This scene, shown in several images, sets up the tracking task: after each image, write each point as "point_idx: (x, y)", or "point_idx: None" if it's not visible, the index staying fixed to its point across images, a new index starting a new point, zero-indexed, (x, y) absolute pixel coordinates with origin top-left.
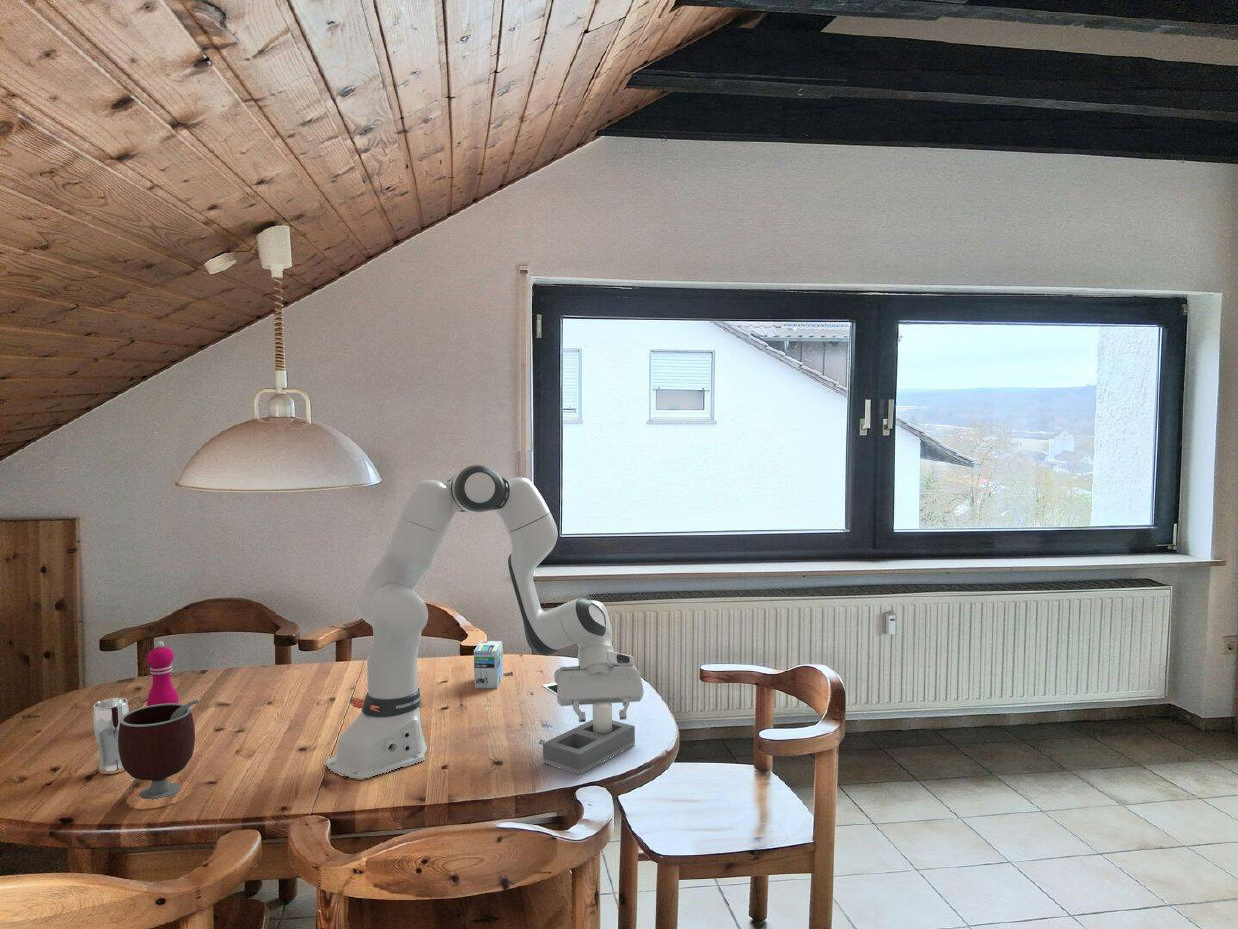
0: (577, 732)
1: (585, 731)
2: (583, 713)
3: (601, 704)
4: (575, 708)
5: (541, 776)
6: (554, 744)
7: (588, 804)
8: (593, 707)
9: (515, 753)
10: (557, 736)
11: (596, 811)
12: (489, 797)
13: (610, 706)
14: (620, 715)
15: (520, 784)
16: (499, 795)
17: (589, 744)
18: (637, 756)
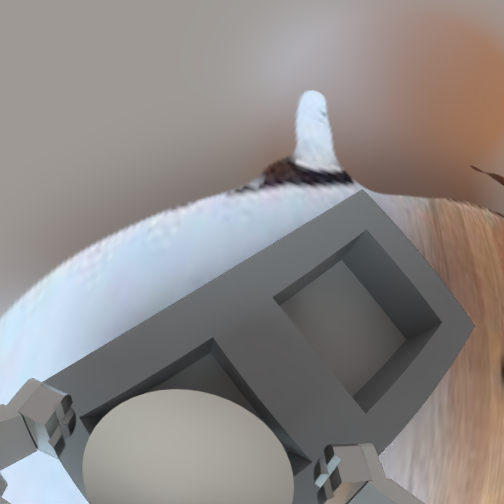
0: (350, 422)
1: (306, 429)
2: (352, 472)
3: (192, 497)
4: (414, 501)
5: (428, 261)
6: (445, 303)
7: (326, 115)
8: (288, 472)
9: (479, 430)
10: (435, 387)
11: (314, 96)
12: (487, 212)
13: (112, 410)
14: (63, 394)
15: (459, 239)
16: (477, 212)
17: (319, 256)
18: (99, 296)
